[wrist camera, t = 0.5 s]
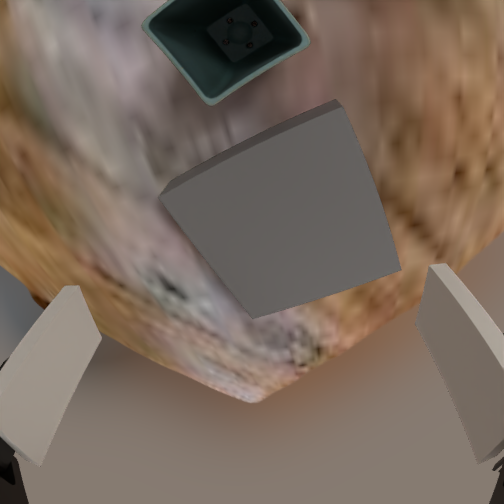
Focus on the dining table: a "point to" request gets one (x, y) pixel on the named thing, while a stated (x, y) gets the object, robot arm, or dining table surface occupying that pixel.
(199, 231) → the plinth
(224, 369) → the dining table surface
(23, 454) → the robot arm
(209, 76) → the flower pot
